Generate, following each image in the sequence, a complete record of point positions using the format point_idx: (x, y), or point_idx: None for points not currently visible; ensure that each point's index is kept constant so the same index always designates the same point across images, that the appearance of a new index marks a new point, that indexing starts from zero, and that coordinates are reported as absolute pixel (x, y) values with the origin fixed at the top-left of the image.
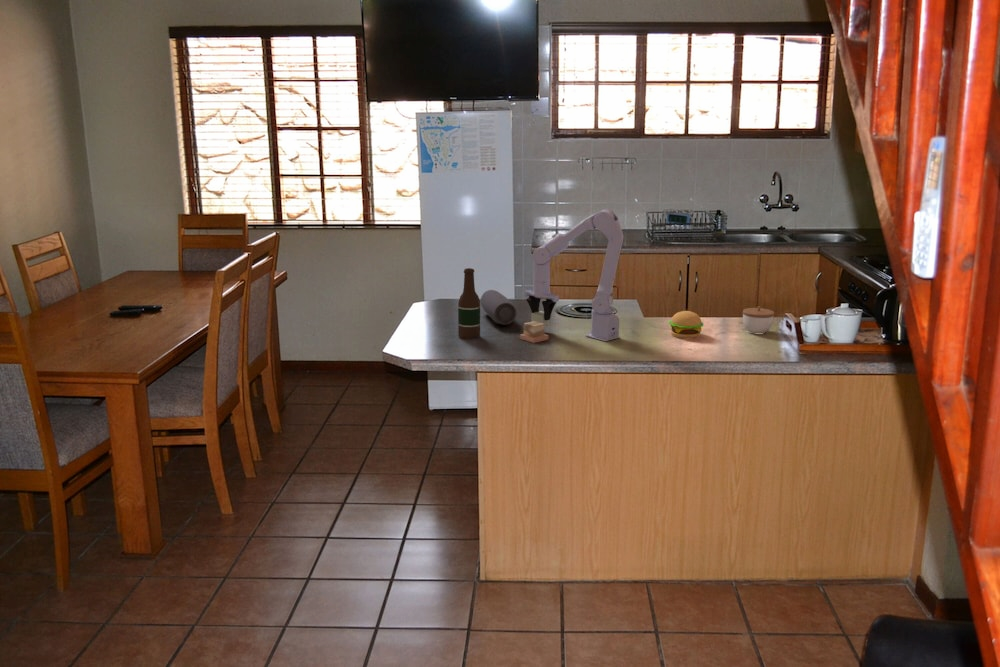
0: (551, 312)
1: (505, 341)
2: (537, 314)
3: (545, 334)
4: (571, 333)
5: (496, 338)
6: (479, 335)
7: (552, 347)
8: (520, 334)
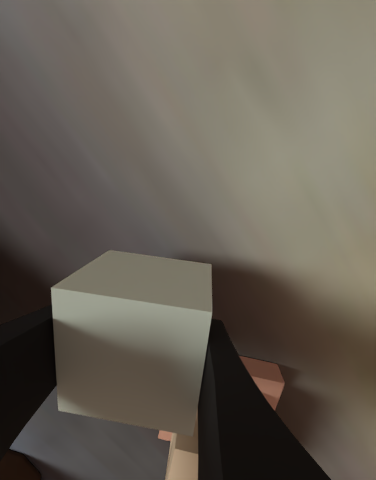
0: (245, 370)
1: (144, 465)
2: (129, 419)
3: (261, 380)
4: (328, 184)
5: (89, 449)
6: (26, 467)
7: (364, 454)
8: (159, 435)
